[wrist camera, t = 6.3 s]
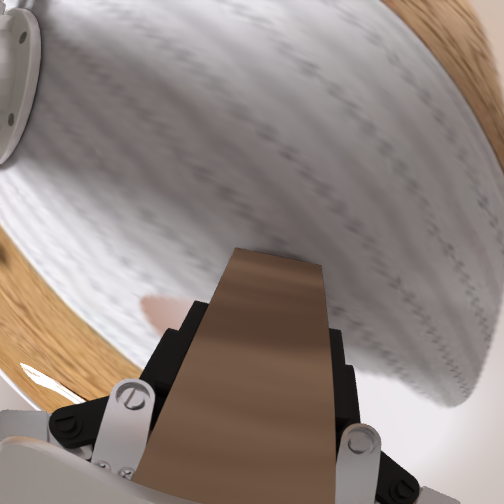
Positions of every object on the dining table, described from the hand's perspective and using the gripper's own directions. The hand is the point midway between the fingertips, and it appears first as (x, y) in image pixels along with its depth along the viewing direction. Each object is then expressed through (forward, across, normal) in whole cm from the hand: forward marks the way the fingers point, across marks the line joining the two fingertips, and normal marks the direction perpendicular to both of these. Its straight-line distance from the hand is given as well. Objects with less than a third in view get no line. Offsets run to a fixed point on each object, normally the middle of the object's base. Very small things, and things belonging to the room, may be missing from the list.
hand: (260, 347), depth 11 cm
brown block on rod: (+4, 0, +8) cm, 9 cm away
